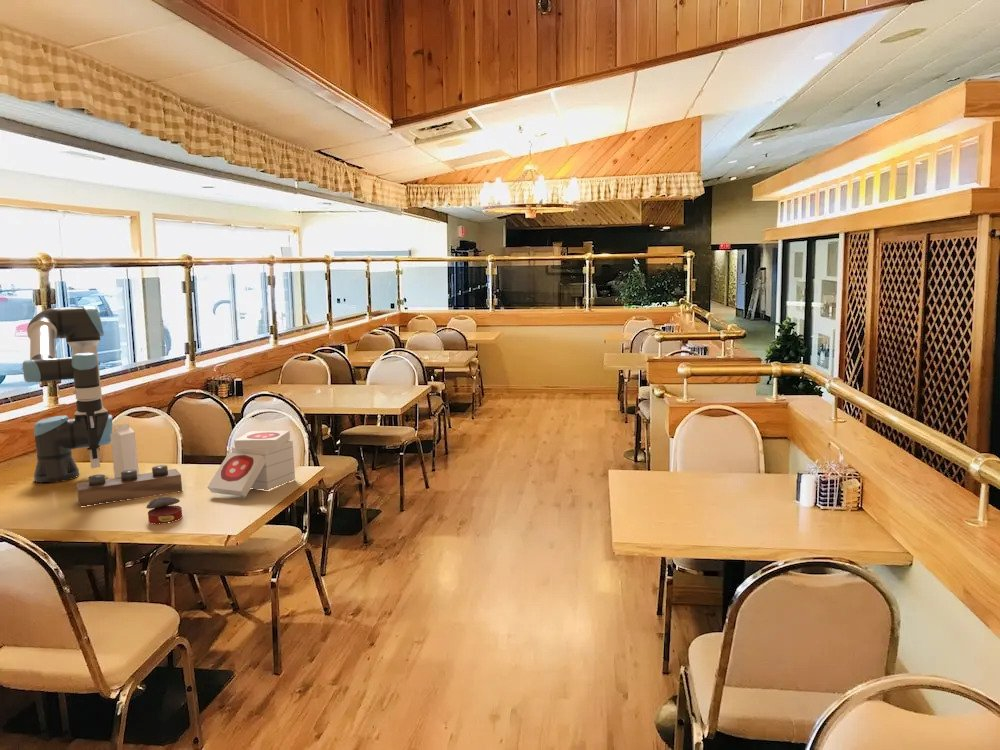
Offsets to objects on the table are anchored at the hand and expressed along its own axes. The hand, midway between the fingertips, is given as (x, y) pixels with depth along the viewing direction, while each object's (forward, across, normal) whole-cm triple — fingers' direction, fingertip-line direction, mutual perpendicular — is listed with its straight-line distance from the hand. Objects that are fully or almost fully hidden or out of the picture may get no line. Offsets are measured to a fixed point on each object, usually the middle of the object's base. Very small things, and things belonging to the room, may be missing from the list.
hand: (95, 467), depth 268 cm
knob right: (+10, +1, +20) cm, 22 cm away
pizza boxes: (+12, +18, +48) cm, 53 cm away
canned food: (+12, +36, +16) cm, 41 cm away
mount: (+12, +1, +10) cm, 15 cm away
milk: (+12, -19, +11) cm, 25 cm away
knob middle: (+10, +1, +10) cm, 14 cm away
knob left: (+10, +1, 0) cm, 10 cm away
